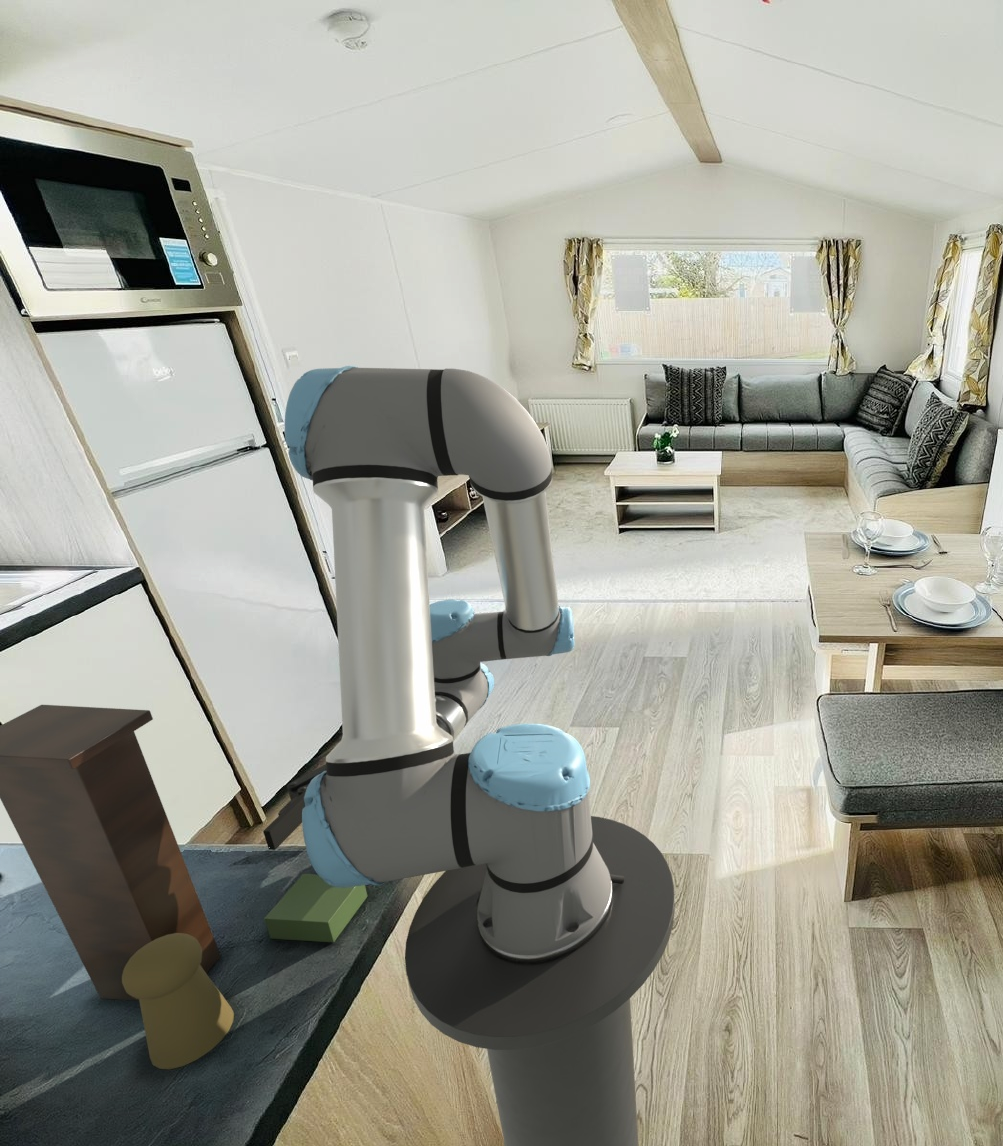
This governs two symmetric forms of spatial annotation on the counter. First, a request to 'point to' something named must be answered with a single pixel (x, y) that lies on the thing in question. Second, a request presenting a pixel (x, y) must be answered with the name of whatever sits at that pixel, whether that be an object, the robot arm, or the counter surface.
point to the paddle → (314, 910)
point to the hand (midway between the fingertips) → (327, 844)
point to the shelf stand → (99, 835)
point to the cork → (176, 1000)
